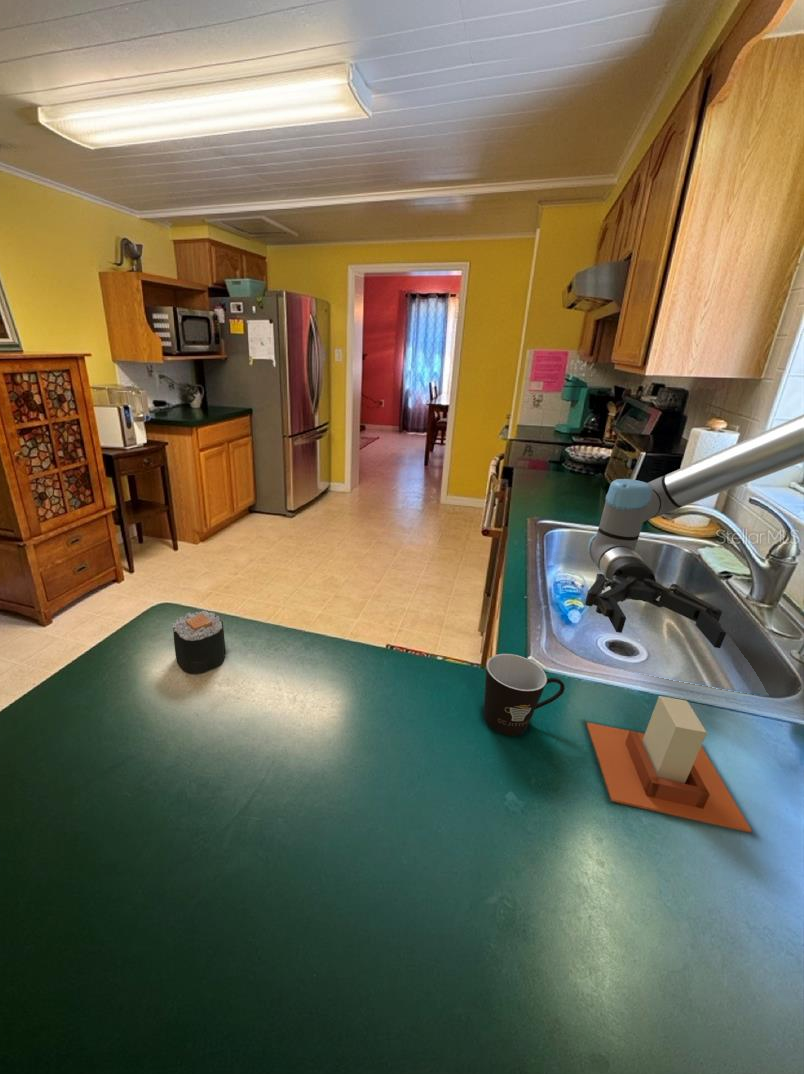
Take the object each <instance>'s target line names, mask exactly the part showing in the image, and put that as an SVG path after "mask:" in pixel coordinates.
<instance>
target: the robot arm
mask: <svg viewBox="0 0 804 1074" xmlns="http://www.w3.org/2000/svg"><path fill="white" fill-rule="evenodd" d="M801 463H804V414H801V415H799V416H797V417H794V418H792V419H790V420H787V421H786V422H783V423H781V424H778V425H776V426H774V427H772V428H770V429H767V430H765V431H763V432H760V433H758V434H756V435H754V436H751V437H749V438H747V439H745V440H742V441H740V442H738V443H736V444H735V443H734V444H732V445H730V446H729V447H726V448H723V449H721V450H719V451H716V452H714V453H712V454H710V455H707V456H706V457H703V458H701V459H699V460H696V461H695V462H692V463H690V464H688V465H685V466H683V467H681V468H678V469H676V470H674V471H672V472H669V473H667V474H665V475H662V476H660V477H657V478H655V479H653V480H651V481H648V482H645V481H641V480H637V479H632V478H617V479H614V480H613V481H611V483H610V485H609V488H608V491H607V493H606V495H605V502H604V505H603V510H602V513H601V518H600V522H599V526H598V529H597V531H596V532H595V533H594V534H593V535H592V536H591V537H590V539H589V541H588V544H587V548H588V552H589V555H590V559H591V560H592V562H593V563H594V564H595V565H596V567H597V569H598V570H599V572H600V573H596V575H595V576H596V577H595V581H594V583H593V584H592V585H591V587H590V588H589V589H588V590H587V594H586V597H585V601H584V605H585V606H587V607H593V606H596V609H595V612H596V613H597V614H600V615H602V616H604V617H606V618H608V619H609V621H610V623H611V625H612V626H613V629H614V631H615V632H616V633H619V634H622V633H623V630H624V627H625V623H626V621H627V616H626V615H625V612H623V610H622V608H621V607H620V605H619V602H621V603H623V602H625V601H627V600H633V601H641V602H644V603H649V604H651V605H653V606H654V607H657V608H666V609H668V610H670V611H672V612H674V613H675V614H678V615H680V616H683V617H684V618H687V619H689V620H691V621H693V622H694V623H695V624H694V625H695V626H696V628H697V629H698V630H699V631H700V632H701V634H702V635H703V636H704V637H705V638H706V639H707V641H708V642H709V643H710V645H712V646H713V648H715V649H721V647H722V644H723V642H724V640H725V637H726V635H727V631H726V630H724V628H722V625H721V623H720V618H721V617H722V614H723V610H722V609H720V608H718V607H716V606H714V605H713V604H711V603H709V602H707V601H705V600H703V599H701V598H700V597H698V596H696V595H694V594H692V593H690V592H689V591H687V590H685V589H684V588H683V587H681V586H680V585H679V584H677V583H671V584H670V587H669V586H663V585H662V584H661V583H659V582H658V581H657V580H656V576H655V573H654V571H653V570H652V568H651V567H650V566H649V565H648V564H647V563H646V562H645V560H644V559H643V558H642V557H641V556H640V555H639V554H638V553H637V551H636V548H637V547H636V546H637V544H638V541H639V537H640V534H641V531H642V528H643V525H644V523H645V522H648V521H650V520H652V519H654V518H657V517H661V516H664V515H666V514H668V513H670V512H673V511H676V510H678V509H681V508H683V507H686V506H688V505H691V504H694V503H696V502H699V501H702V500H704V499H707V498H709V497H713V496H715V495H718V494H721V493H723V492H726V491H728V490H732V489H734V488H736V487H739V486H742V485H745V484H747V483H750V482H753V481H756V480H758V479H761V478H764V477H766V476H769V475H771V474H774V473H777V472H779V471H782V470H784V469H788V468H791V467H793V466H795V465H799V464H801ZM608 587H609V588H610V589H608V590H606V588H608ZM605 590H606V591H605ZM658 598H659V599H658ZM657 599H658V600H657Z"/></svg>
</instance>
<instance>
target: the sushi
mask: <svg viewBox="0 0 804 1074" xmlns="http://www.w3.org/2000/svg"><path fill="white" fill-rule="evenodd" d="M171 627H172V633H173V645H174V653H175V661H176V664H177V666H179V667H180V669H181V670H182V671H183V672H184V673H186V674H189V675H200V674H205V673H207V672H210V671H211V670H214V669H216V668H219V666H221V665H222V664H223V663H224V662H225V656H226V655H227V653H226V652H227V651H226V644H225V643H226V642H225V630H224V629H225V628H224V622H223V620H221V618H220V617H219V614H218V615H215V613H214V612H209V611H206V610H202V611H199V612H198V611H195V613H194V612H192V613H191V612H187V613H185V616H183V615H181V616H180V617H178V619H177V618H176V619H175V621H174V622H173V623H171Z"/></svg>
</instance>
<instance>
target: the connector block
mask: <svg viewBox="0 0 804 1074" xmlns="http://www.w3.org/2000/svg"><path fill="white" fill-rule="evenodd" d="M644 734H645V735H644V738H643V740H642V744H643V746H644V748H645V751H646V753H647V755H648V757H649V760H650V762H651V764H652V766H653V769H654V771H655V773H656V775H657V778H660V779H665V780H669V781H674V782H679V783H683V784H685V782H686V780H687V778H688V775H689V773H690V771H691V768H692V766H693V764H694V762H695V759H696V757H697V755H698V752H699V750H700V748H701V746H702V747H703V743H704V741H705V739H706V736H707V735H708V732H707V730H706V728H705V727H704V725H703V724H702V722H701V720H700V719H699V717H698V716H697V714H696V712H695V711H694V709H693V708H692V706H691V705H690V703H689V702H688V700H685V699H679V698H673V697H668V696H663V695H659V696H658V698H657V700H656V704H655V706H654V708H653V711H652V714H651V717H650V720H649V722H648V724H647V727H646V731H645V732H644Z"/></svg>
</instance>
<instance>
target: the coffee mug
mask: <svg viewBox="0 0 804 1074" xmlns="http://www.w3.org/2000/svg"><path fill="white" fill-rule="evenodd" d="M485 668H486V669H485V683H484V685H485V686H484V699H483V700H484V702H483V704H484V705H483V718H484V719H483V720H485V723H486V724H487V726H488V727H490V728H491V729H492V730H494V731H495V732H497V733H500V734H502V735H505V736H513V737H515V736H521V735H522V734H524V733H525V732H526V731H527V729H528V726H529V725H530V722H531V721H532V717H533V715H534V713H535V711H536V710H537V709H541V707H544V706H547V705H548V704H550V703H552V702H554V701H556V700H557V699H559V697H561V696H562V695H563V694H564V692H565V683H564V682H563V681H562V680H561V679H559V678H556V677H549V678H548V677H547V673H546V672H545V671H544V670H543V668H542V667H541V666H539V665H538V664H537V663H536V662H534V660H533V661H532V660H531V659H529V658H526V657H524V656H521V655H518V654H513V653H499V654H495V655H492V656H491V657H489V658H488V660H487V662H486V667H485ZM550 683H551V684H552V683H556V684H557V685H559V686H560V687H559V690H558V691H557V693H555V694H554V695H553V696H551V697H549V698H547V699H545V700H542V701H540V700H541V697H542V694H543V691H544V689H545V687H546V685H547V684H550Z"/></svg>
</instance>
